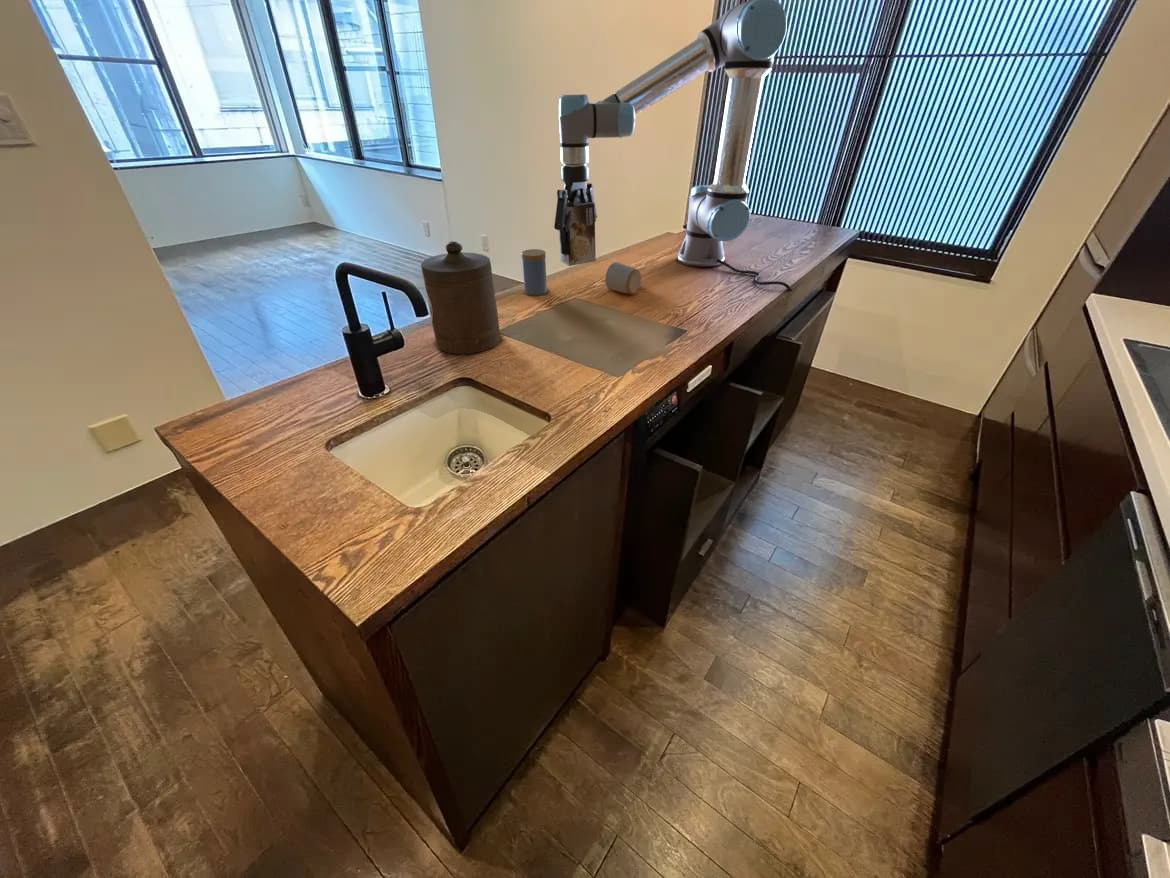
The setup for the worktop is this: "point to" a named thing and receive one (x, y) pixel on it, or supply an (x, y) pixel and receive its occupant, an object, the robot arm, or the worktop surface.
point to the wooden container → (461, 300)
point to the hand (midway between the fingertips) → (577, 249)
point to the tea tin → (534, 271)
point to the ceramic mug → (623, 278)
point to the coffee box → (580, 234)
